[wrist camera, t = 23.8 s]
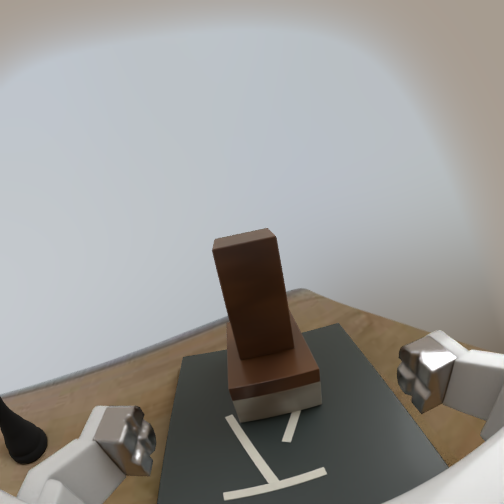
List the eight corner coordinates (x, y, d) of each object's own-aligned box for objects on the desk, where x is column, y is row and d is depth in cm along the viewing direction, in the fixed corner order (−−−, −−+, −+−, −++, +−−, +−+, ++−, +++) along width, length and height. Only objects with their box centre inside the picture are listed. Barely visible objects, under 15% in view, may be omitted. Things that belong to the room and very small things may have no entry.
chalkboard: (160, 559, 6) (149, 554, 5) (186, 365, 23) (182, 356, 23) (453, 490, 6) (460, 481, 6) (339, 331, 24) (338, 321, 24)
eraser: (240, 423, 14) (190, 265, 12) (234, 353, 22) (204, 235, 20) (322, 404, 15) (303, 241, 12) (294, 340, 22) (273, 220, 20)
